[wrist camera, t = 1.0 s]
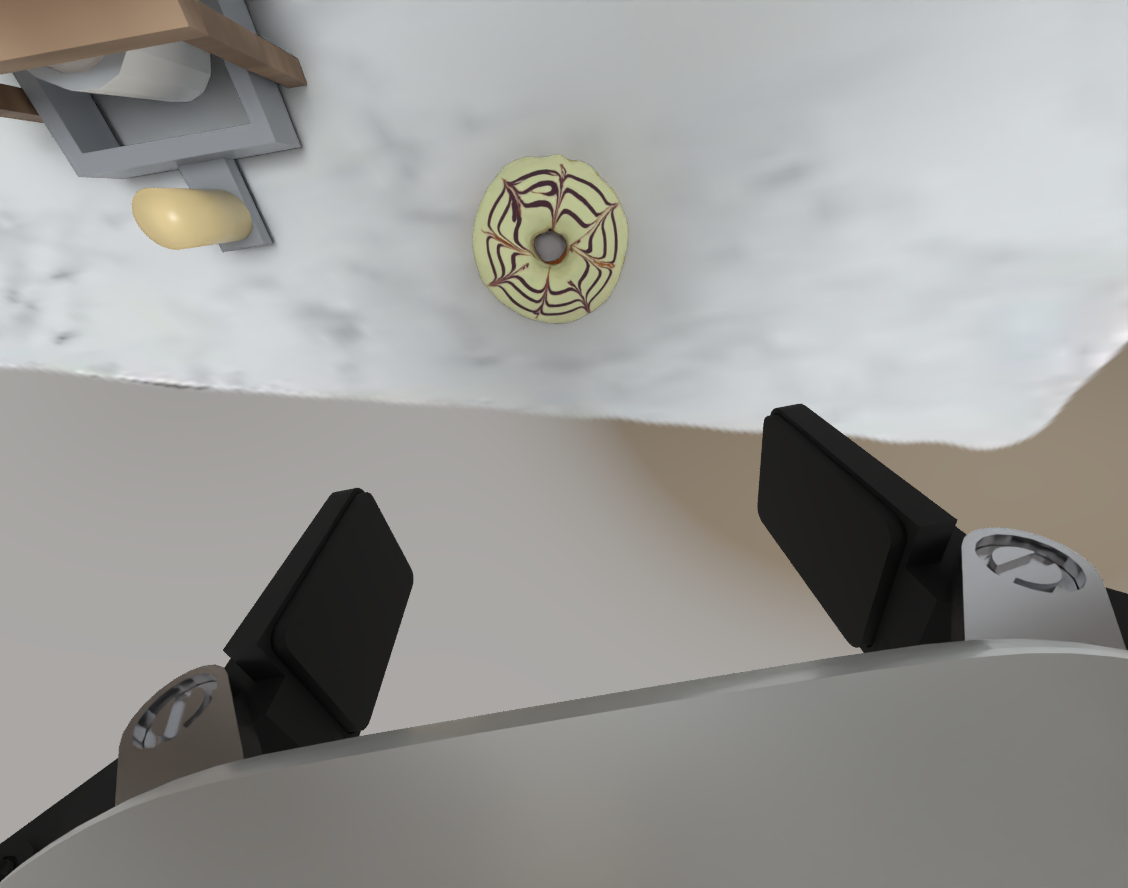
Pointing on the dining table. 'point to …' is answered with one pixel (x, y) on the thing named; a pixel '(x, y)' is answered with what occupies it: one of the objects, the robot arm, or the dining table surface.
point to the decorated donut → (533, 206)
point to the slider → (178, 156)
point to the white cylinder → (137, 73)
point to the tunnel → (124, 39)
